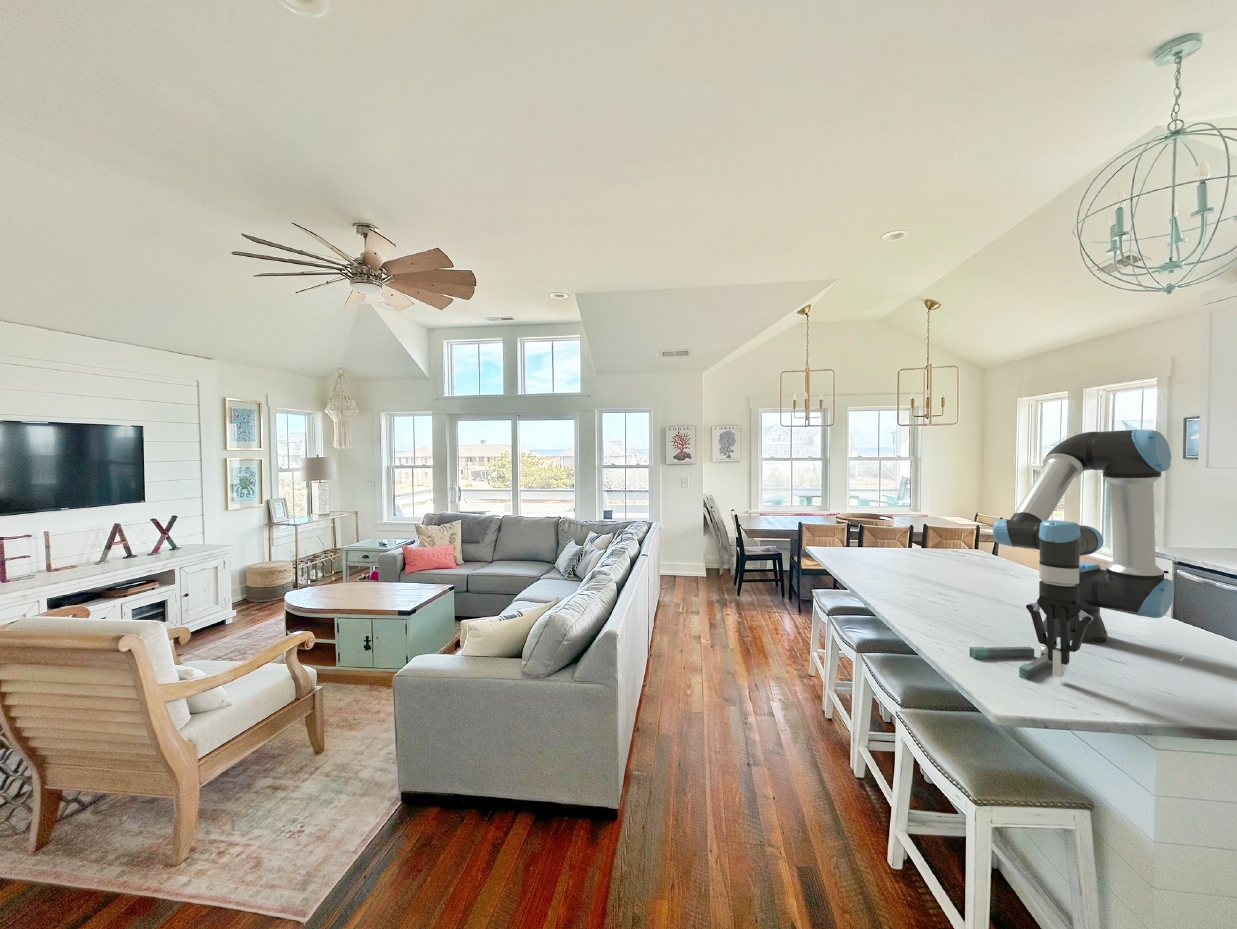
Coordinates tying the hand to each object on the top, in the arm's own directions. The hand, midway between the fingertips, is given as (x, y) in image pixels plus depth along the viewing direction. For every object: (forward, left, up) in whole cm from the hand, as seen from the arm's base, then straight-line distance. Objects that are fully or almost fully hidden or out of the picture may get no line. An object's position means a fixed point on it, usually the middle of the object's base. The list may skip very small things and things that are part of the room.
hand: (1058, 675), depth 123 cm
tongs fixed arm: (+1, -14, -2) cm, 14 cm away
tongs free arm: (0, -7, -2) cm, 7 cm away
